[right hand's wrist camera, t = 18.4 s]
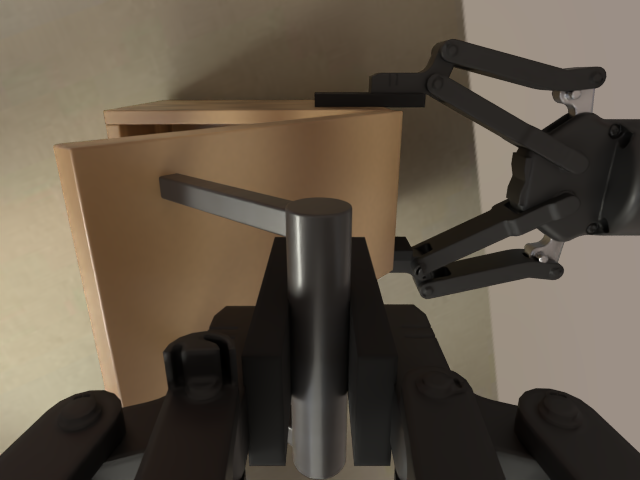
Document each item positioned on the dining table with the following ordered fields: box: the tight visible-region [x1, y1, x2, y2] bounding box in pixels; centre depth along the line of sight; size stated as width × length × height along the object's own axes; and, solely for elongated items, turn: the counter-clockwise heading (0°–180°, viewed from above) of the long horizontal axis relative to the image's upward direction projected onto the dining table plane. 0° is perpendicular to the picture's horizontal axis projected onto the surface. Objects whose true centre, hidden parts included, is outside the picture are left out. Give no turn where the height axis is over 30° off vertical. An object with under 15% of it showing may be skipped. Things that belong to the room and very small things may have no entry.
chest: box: [104, 100, 390, 139], centre depth 30 cm, size 16×9×10 cm, turn 90°
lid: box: [53, 110, 403, 479], centre depth 17 cm, size 17×9×8 cm
